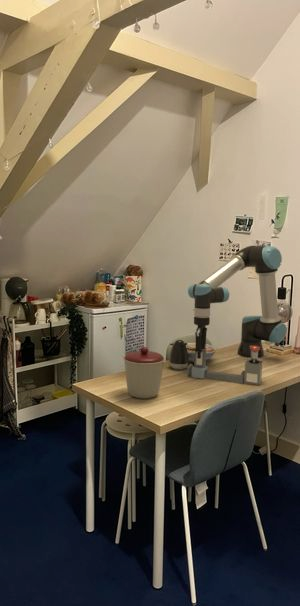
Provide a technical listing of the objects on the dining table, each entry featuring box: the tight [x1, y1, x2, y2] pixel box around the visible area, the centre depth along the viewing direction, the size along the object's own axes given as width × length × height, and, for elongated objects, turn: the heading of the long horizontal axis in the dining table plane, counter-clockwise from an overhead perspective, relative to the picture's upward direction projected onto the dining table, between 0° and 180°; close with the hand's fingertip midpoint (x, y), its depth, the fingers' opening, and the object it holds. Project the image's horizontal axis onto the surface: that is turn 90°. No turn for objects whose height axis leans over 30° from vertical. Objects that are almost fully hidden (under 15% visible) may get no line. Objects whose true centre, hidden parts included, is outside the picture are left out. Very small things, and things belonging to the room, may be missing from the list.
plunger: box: [250, 345, 260, 363], centre depth 211 cm, size 5×5×7 cm
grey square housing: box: [243, 358, 263, 386], centre depth 213 cm, size 7×7×10 cm
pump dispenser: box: [168, 339, 190, 370], centre depth 232 cm, size 10×10×15 cm
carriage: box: [191, 349, 209, 380], centre depth 219 cm, size 7×6×14 cm
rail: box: [186, 363, 245, 385], centre depth 217 cm, size 5×27×5 cm, turn 69°
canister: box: [122, 346, 166, 400], centre depth 192 cm, size 18×18×21 cm
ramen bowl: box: [169, 342, 218, 363], centre depth 248 cm, size 25×23×8 cm
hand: (200, 363), depth 219 cm, fingers closed on carriage, 2 cm apart
